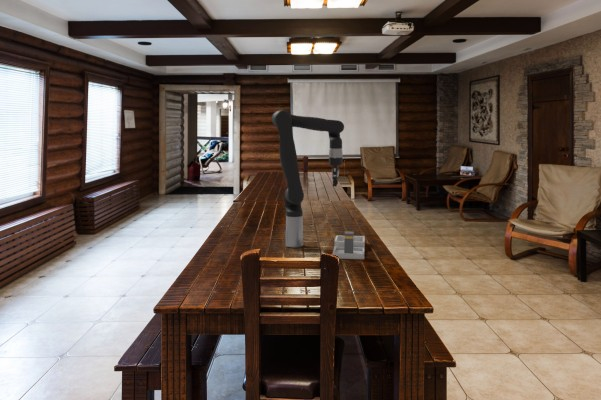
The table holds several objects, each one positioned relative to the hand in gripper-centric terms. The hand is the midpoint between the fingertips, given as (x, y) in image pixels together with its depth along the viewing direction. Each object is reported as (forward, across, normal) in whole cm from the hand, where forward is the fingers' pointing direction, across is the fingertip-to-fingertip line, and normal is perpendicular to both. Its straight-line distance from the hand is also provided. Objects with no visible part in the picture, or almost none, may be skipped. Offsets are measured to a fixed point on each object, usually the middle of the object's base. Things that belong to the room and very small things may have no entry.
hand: (335, 185), depth 278 cm
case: (+33, +11, +9) cm, 36 cm away
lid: (+33, +26, +9) cm, 43 cm away
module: (+32, +26, +9) cm, 42 cm away
